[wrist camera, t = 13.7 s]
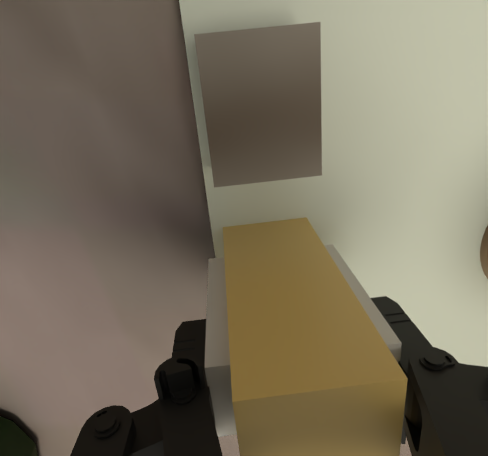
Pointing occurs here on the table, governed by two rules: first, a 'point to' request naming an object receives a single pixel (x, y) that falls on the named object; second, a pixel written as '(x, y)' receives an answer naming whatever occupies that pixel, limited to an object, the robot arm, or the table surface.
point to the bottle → (15, 440)
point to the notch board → (262, 102)
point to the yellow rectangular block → (304, 350)
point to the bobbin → (484, 253)
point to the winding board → (382, 152)
